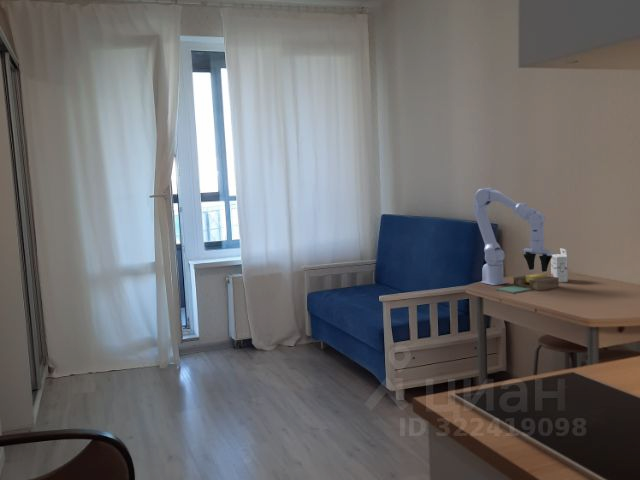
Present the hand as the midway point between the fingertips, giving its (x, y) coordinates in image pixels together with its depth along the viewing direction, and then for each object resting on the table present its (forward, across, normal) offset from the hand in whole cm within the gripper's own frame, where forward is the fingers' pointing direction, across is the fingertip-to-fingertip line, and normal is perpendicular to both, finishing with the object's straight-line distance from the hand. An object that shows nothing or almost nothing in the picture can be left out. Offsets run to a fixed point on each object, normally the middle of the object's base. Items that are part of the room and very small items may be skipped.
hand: (537, 270), depth 273 cm
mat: (+7, 0, -14) cm, 16 cm away
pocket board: (+7, 0, -1) cm, 7 cm away
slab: (+5, 0, -1) cm, 5 cm away
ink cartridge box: (+7, -3, +16) cm, 18 cm away
